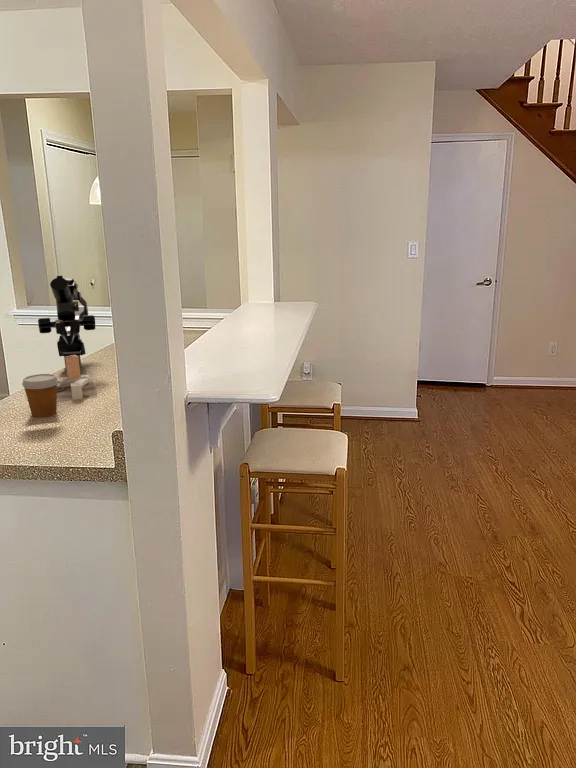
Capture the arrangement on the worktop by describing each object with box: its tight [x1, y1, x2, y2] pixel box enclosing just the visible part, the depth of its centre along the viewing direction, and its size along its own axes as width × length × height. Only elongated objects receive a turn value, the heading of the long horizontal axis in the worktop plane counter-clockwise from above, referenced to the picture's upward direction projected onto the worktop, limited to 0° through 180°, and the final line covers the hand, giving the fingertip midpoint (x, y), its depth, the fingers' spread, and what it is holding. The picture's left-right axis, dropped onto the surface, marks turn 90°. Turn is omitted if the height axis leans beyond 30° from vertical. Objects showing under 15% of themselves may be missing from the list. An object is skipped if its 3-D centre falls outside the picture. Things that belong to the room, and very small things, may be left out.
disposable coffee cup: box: [21, 373, 59, 419], centre depth 165 cm, size 10×10×12 cm
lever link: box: [57, 355, 90, 390], centre depth 192 cm, size 4×14×10 cm, turn 142°
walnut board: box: [57, 378, 98, 403], centre depth 189 cm, size 24×15×1 cm, turn 22°
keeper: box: [71, 379, 88, 401], centre depth 183 cm, size 8×5×4 cm
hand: (69, 343), depth 200 cm, fingers closed
